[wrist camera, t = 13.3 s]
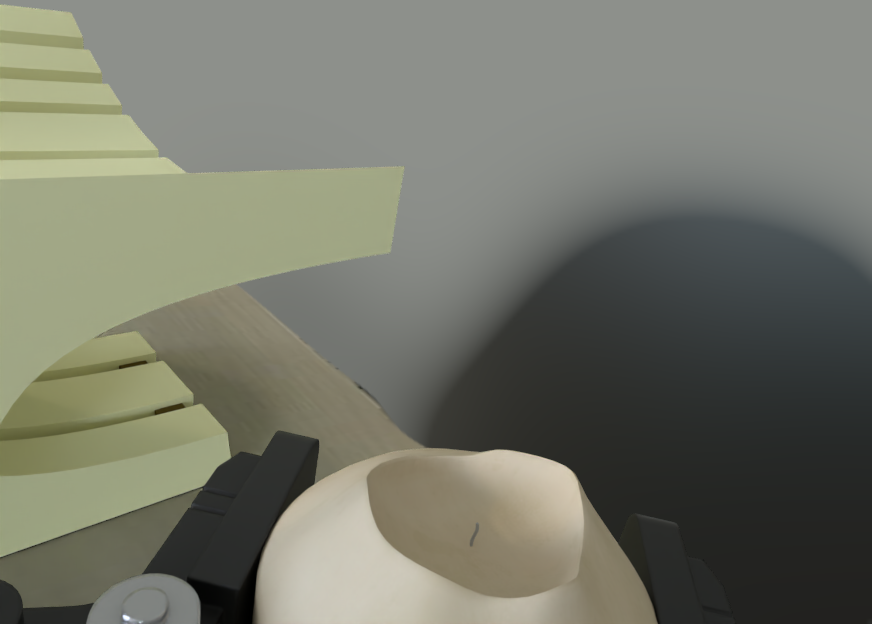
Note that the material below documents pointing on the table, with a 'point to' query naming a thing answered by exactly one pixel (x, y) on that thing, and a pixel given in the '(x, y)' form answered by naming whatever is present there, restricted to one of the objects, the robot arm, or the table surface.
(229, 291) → the table surface
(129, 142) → the slatted curved stool
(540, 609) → the candle
